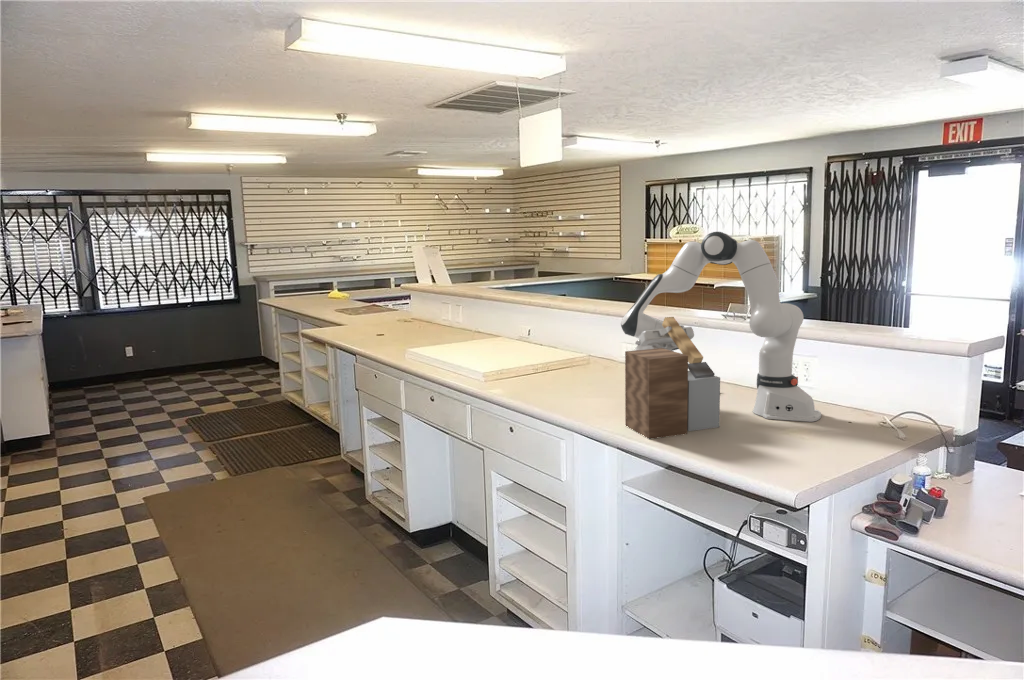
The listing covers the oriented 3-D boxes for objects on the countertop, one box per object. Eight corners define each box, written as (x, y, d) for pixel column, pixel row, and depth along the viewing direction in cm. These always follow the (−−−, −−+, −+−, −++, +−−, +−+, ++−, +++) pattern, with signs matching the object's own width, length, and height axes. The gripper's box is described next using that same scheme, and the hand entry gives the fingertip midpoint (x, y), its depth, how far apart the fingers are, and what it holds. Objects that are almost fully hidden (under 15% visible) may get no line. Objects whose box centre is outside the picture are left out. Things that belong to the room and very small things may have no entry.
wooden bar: (657, 325, 237) (660, 317, 234) (674, 324, 239) (677, 316, 237) (695, 378, 217) (698, 370, 214) (713, 376, 219) (717, 368, 217)
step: (665, 420, 232) (666, 373, 229) (695, 416, 235) (696, 369, 233) (688, 431, 219) (688, 380, 216) (719, 427, 222) (720, 377, 220)
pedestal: (625, 426, 226) (625, 351, 222) (661, 421, 231) (661, 348, 227) (649, 439, 211) (649, 359, 207) (687, 433, 216) (688, 355, 212)
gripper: (631, 336, 242) (647, 321, 230) (680, 332, 248) (698, 317, 236) (635, 352, 240) (652, 338, 227) (684, 348, 246) (703, 333, 234)
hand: (676, 327), depth 232 cm, fingers closed on wooden bar, 3 cm apart
